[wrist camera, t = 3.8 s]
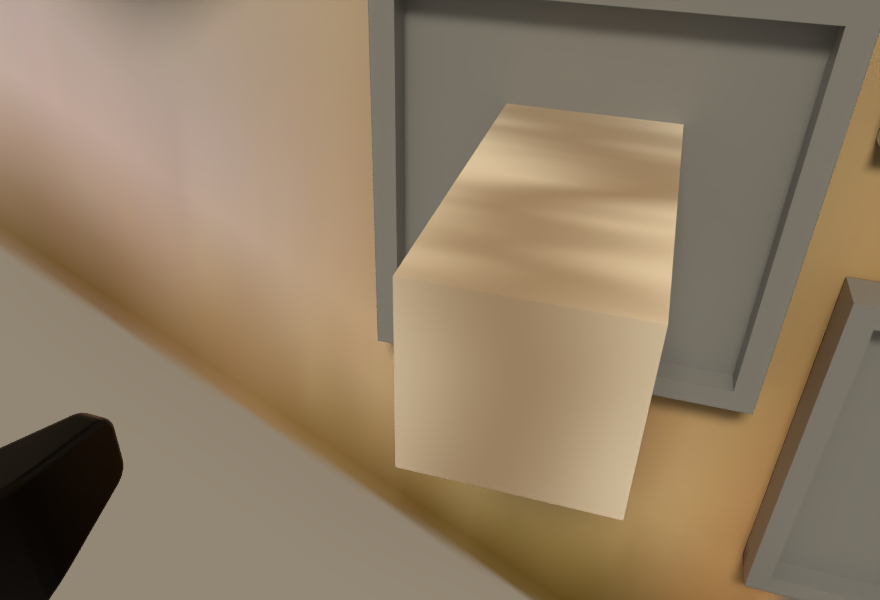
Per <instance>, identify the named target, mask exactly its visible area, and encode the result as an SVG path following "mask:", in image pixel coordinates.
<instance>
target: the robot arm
mask: <svg viewBox="0 0 880 600" xmlns="http://www.w3.org/2000/svg"><path fill="white" fill-rule="evenodd" d="M122 471H123V459H122V456H121V452H120V448H119V444H118V441H117V437H116V433H115V430H114V427H113V424H112V423H111V422H110V421H109V420H108V419H106V418H103V417H99V416H95V415H92V414H88V413H78V414H74V415H72V416H69V417H68V418H65V419H63V420H61V421H58V422H56V423H54V424H52V425H50V426H47V427H45V428H43V429H41V430H39V431H36V432H35V433H32V434H30V435H28V436H25V437H23V438H21V439H19V440H17V441H15V442H12V443H10V444H8V445H6V446H3V447H1V448H0V600H49V599H50V597H51V596H52V594H53V593H54V592H55V590H56V589H57V587H58V586H59V584H60V583H61V581H62V579H63V578H64V576H65V574H66V573H67V571H68V570H69V568H70V566H71V565H72V563H73V561H74V559H75V558H76V556H77V554H78V552H79V551H80V549H81V547H82V546H83V544H84V542H85V540H86V539H87V536H88V535H89V533H90V531H91V530H92V528H93V526H94V524H95V523H96V521H97V519H98V518H99V516H100V514H101V512H102V511H103V509H104V507H105V506H106V503H107V502H108V500H109V499H110V497H111V495H112V493H113V492H114V490H115V488H116V486H117V485H118V483H119V481H120V478H121V476H122Z"/></svg>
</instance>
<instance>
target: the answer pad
mask: <svg viewBox="0 0 880 600" xmlns="http://www.w3.org/2000/svg"><path fill="white" fill-rule="evenodd" d="M876 140H877V142H878V144H879V146H880V130H879V133H878V136H877V139H876Z"/></svg>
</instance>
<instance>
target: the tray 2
mask: <svg viewBox="0 0 880 600" xmlns="http://www.w3.org/2000/svg"><path fill="white" fill-rule="evenodd" d="M743 568H744V586H746V587H751V588H755V589H759V590H763V591H767V592H771V593H775V594H779V595H783V596H787V597H791V598H795V599H799V600H880V282H876V281H870V280H863V279H857V278H850V277H846V279H845V282H844V284H843V287H842V290H841V292H840V295H839V298H838V300H837V303H836V306H835V308H834V311H833V314H832V316H831V319H830V322H829V324H828V327H827V330H826V333H825V335H824V338H823V341H822V343H821V346H820V349H819V351H818V354H817V357H816V359H815V362H814V365H813V367H812V370H811V373H810V375H809V378H808V381H807V383H806V386H805V389H804V392H803V394H802V397H801V400H800V402H799V405H798V408H797V410H796V413H795V416H794V418H793V421H792V424H791V426H790V429H789V432H788V434H787V437H786V440H785V443H784V445H783V448H782V451H781V453H780V456H779V459H778V461H777V464H776V467H775V469H774V472H773V475H772V477H771V480H770V483H769V485H768V488H767V491H766V493H765V496H764V499H763V502H762V504H761V507H760V510H759V512H758V515H757V518H756V520H755V523H754V526H753V528H752V531H751V534H750V536H749V539H748V542H747V544H746V547H745V550H744V553H743Z"/></svg>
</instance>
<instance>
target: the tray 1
mask: <svg viewBox="0 0 880 600" xmlns="http://www.w3.org/2000/svg"><path fill="white" fill-rule="evenodd" d="M368 18H369V53H370V87H371V122H372V156H373V191H374V225H375V260H376V294H377V329H378V341H382V342H388V343H393V344H394V331H393V275H394V273H395V272H396V270H397V269H398V267H399V266H400V264H401V263H402V261H403V260H404V258H405V257H406V255H407V254H408V252H409V251H410V249H411V248H412V246H413V245H414V243H415V242H416V240H417V239H418V237H419V236H420V234H421V233H422V231H423V229H424V228H425V226H426V225H427V223H428V222H429V220H430V219H431V217H432V216H433V214H434V213H435V211H436V210H437V208H438V207H439V205H440V204H441V202H442V201H443V199H444V198H445V196H446V195H447V193H448V192H449V190H450V188H451V187H452V185H453V184H454V182H455V181H456V179H457V178H458V176H459V175H460V173H461V172H462V170H463V169H464V167H465V166H466V164H467V163H468V161H469V160H470V158H471V157H472V155H473V154H474V152H475V151H476V149H477V148H478V146H479V144H480V143H481V141H482V140H483V138H484V137H485V135H486V134H487V132H488V131H489V129H490V128H491V126H492V125H493V123H494V122H495V120H496V119H497V117H498V116H499V114H500V113H501V111H502V110H503V108H504V107H505V105H506V104H516V105H524V106H532V107H541V108H549V109H558V110H566V111H574V112H583V113H591V114H600V115H608V116H616V117H625V118H633V119H642V120H650V121H658V122H667V123H675V124H684V126H683V139H682V152H681V165H680V178H679V191H678V204H677V217H676V229H675V242H674V255H673V268H672V281H671V294H670V307H669V320H668V327H667V332H666V336H665V340H664V345H663V349H662V353H661V358H660V362H659V367H658V371H657V375H656V380H655V384H654V388H653V393H652V395H656V396H661V397H666V398H671V399H677V400H682V401H687V402H692V403H697V404H702V405H707V406H712V407H717V408H722V409H727V410H732V411H737V412H742V413H748V414H753V412H754V409H755V406H756V403H757V400H758V397H759V394H760V391H761V388H762V385H763V382H764V379H765V376H766V373H767V370H768V367H769V364H770V361H771V358H772V355H773V352H774V349H775V345H776V342H777V339H778V336H779V333H780V330H781V327H782V324H783V321H784V318H785V315H786V312H787V309H788V306H789V303H790V300H791V297H792V294H793V291H794V288H795V285H796V282H797V279H798V276H799V273H800V270H801V267H802V264H803V261H804V258H805V255H806V252H807V249H808V246H809V243H810V240H811V237H812V234H813V231H814V228H815V225H816V222H817V219H818V216H819V213H820V210H821V207H822V204H823V201H824V198H825V195H826V192H827V189H828V186H829V183H830V180H831V177H832V174H833V171H834V168H835V165H836V162H837V159H838V156H839V153H840V150H841V147H842V144H843V141H844V137H845V134H846V131H847V128H848V125H849V122H850V119H851V116H852V113H853V110H854V107H855V104H856V101H857V98H858V95H859V92H860V89H861V86H862V83H863V80H864V77H865V74H866V71H867V68H868V65H869V62H870V59H871V56H872V53H873V50H874V47H875V44H876V41H877V38H878V35H879V32H880V0H368Z"/></svg>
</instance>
